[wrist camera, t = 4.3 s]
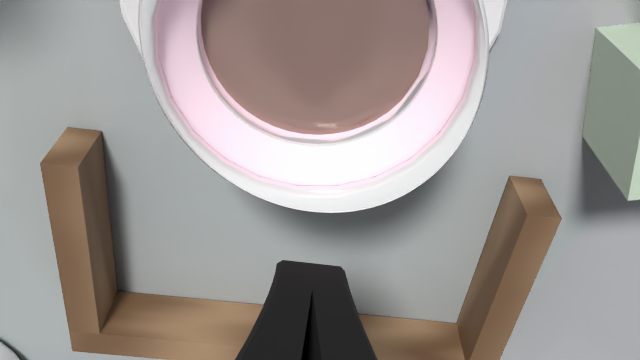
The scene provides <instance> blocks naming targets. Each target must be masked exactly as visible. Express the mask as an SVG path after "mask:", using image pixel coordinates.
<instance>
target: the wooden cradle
mask: <svg viewBox="0 0 640 360" xmlns="http://www.w3.org/2000/svg"><path fill="white" fill-rule="evenodd" d="M40 165H41V171H42V177H43V183H44V189H45V194H46V200H47V206H48V212H49V217H50V223H51V229H52V235H53V241H54V246H55V252H56V258H57V264H58V269H59V275H60V281H61V287H62V293H63V298H64V304H65V310H66V316H67V322H68V327H69V333H70V339H71V345H72V350H73V351H77V352H89V353H100V354H111V355H122V356H133V357H144V358H156V359H167V360H235V358H236V357H237V355H238V353H239V352H240V350H241V348H242V347H243V345H244V343H245V341H246V340H247V338H248V336H249V334H250V332H251V330H252V328H253V326H254V324H255V322H256V320H257V318H258V316H259V314H260V312H261V310H262V308H263V306H264V305H258V304H248V303H237V302H227V301H216V300H206V299H195V298H185V297H174V296H164V295H153V294H143V293H132V292H122V291H117V281H116V271H115V261H114V251H113V241H112V231H111V221H110V211H109V201H108V191H107V181H106V171H105V161H104V151H103V141H102V132H101V131H96V130H87V129H78V128H69V127H67V129H66V130H65V131H64V133H63V134H62V135H61V137H60V138H59V139H58V141H57V142H56V143H55V144H54V146H53V147H52V148H51V150H50V151H49V152H48V154H47V155H46V156H45V158H44V159H43V160H42V162H41V163H40ZM561 219H562V218H561V216H560V215H559V213H558V211H557V209H556V207H555V205H554V203H553V201H552V199H551V197H550V196H549V194H548V192H547V190H546V188H545V186H544V184H543V182H542V180H541V179H534V178H524V177H515V176H509V179H508V182H507V184H506V187H505V190H504V193H503V196H502V198H501V201H500V204H499V207H498V209H497V212H496V215H495V218H494V221H493V223H492V226H491V229H490V232H489V234H488V237H487V240H486V243H485V246H484V248H483V251H482V254H481V257H480V259H479V262H478V265H477V268H476V271H475V273H474V276H473V279H472V282H471V284H470V287H469V290H468V293H467V295H466V298H465V301H464V304H463V307H462V309H461V312H460V315H459V318H458V320H457V323H447V322H436V321H426V320H415V319H405V318H394V317H384V316H373V315H363V314H358V315H359V318H360V320H361V323H362V325H363V328H364V330H365V332H366V335H367V337H368V339H369V341H370V344H371V346H372V348H373V350H374V353H375V355H376V357H377V359H378V360H500V358H501V355H502V353H503V351H504V348H505V346H506V344H507V342H508V339H509V337H510V335H511V333H512V330H513V328H514V326H515V324H516V321H517V319H518V317H519V314H520V312H521V310H522V308H523V305H524V303H525V301H526V299H527V296H528V294H529V292H530V290H531V287H532V285H533V283H534V280H535V278H536V276H537V274H538V271H539V269H540V267H541V265H542V262H543V260H544V258H545V256H546V253H547V251H548V249H549V247H550V244H551V242H552V240H553V237H554V235H555V233H556V231H557V228H558V226H559V224H560V222H561Z"/></svg>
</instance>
